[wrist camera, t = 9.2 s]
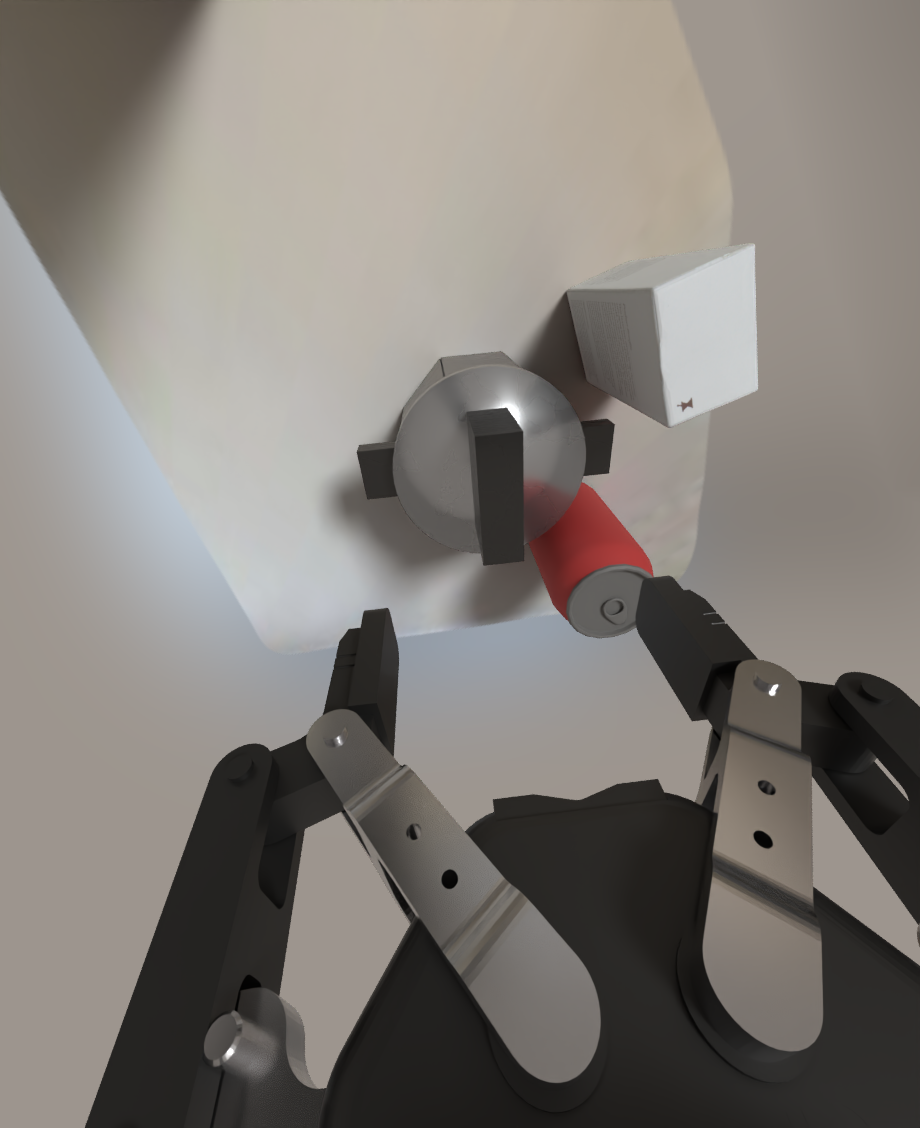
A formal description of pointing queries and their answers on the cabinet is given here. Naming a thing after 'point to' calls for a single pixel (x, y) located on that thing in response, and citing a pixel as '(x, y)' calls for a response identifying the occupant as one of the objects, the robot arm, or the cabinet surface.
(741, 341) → the skincare box
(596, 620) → the beer can
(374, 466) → the pot
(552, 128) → the cabinet surface
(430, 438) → the lid
